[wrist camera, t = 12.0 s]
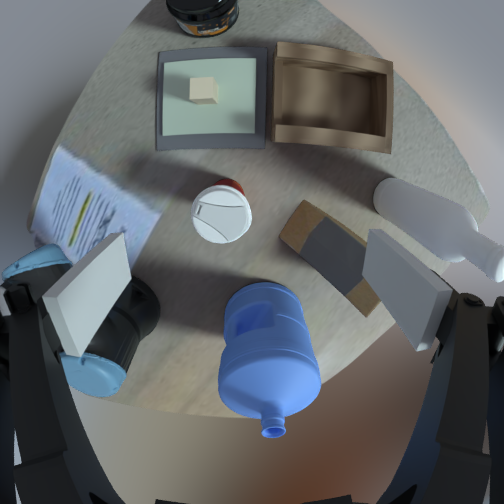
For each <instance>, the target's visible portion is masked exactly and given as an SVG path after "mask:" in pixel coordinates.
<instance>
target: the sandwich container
mask: <svg viewBox="0 0 504 504" xmlns="http://www.w3.org/2000/svg"><path fill="white" fill-rule="evenodd" d="M279 238H280V239H282V240H283V241H284V242H285V243H286V244H287V245H289V246H290V247H291V248H292V249H293V250H294V251H295V252H297V253H298V254H299V255H300V256H301V257H302V258H303V259H305V260H306V261H307V262H308V263H309V264H310V265H311V266H312V267H314V268H315V269H316V270H317V271H318V272H319V273H320V274H321V275H322V276H323V277H324V278H325V279H326V280H328V281H329V282H330V283H331V284H332V285H333V286H334V287H335V288H336V289H337V290H338V291H339V292H341V293H342V294H343V295H344V296H345V297H346V298H347V299H348V300H349V301H350V302H351V303H352V304H353V305H354V306H355V307H356V308H357V309H358V310H359V311H360V312H361V313H362V314H363V315H364V316H365V317H366V318H367V317H368V316H369V314H370V313H371V312H372V311H373V310H374V309H375V308H376V307H377V305H378V304H379V303H380V302H381V300H380V298H379V297H378V296H377V294H376V293H375V292H374V290H373V289H372V288H371V286H370V285H369V284H368V282H367V281H366V280H365V278H364V277H363V276H362V272H363V266H364V260H365V254H366V248H367V242H365V241H364V240H363V239H362V238H360V237H359V236H358V235H356V234H355V233H354V232H353V231H351V230H350V229H349V228H347V227H346V226H345V225H343V224H342V223H340V222H339V221H337V220H336V219H334V218H333V217H331V216H329V215H328V214H326V213H325V212H323V211H322V210H320V209H319V208H317V207H315V206H314V205H312V204H311V203H309V202H307V201H306V200H303V201H302V202H301V204H300V205H299V206H298V208H297V209H296V210H295V212H294V213H293V215H292V216H291V217H290V219H289V220H288V222H287V224H286V225H285V227H284V228H283V230H282V232H281V233H280V235H279Z"/></svg>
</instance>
